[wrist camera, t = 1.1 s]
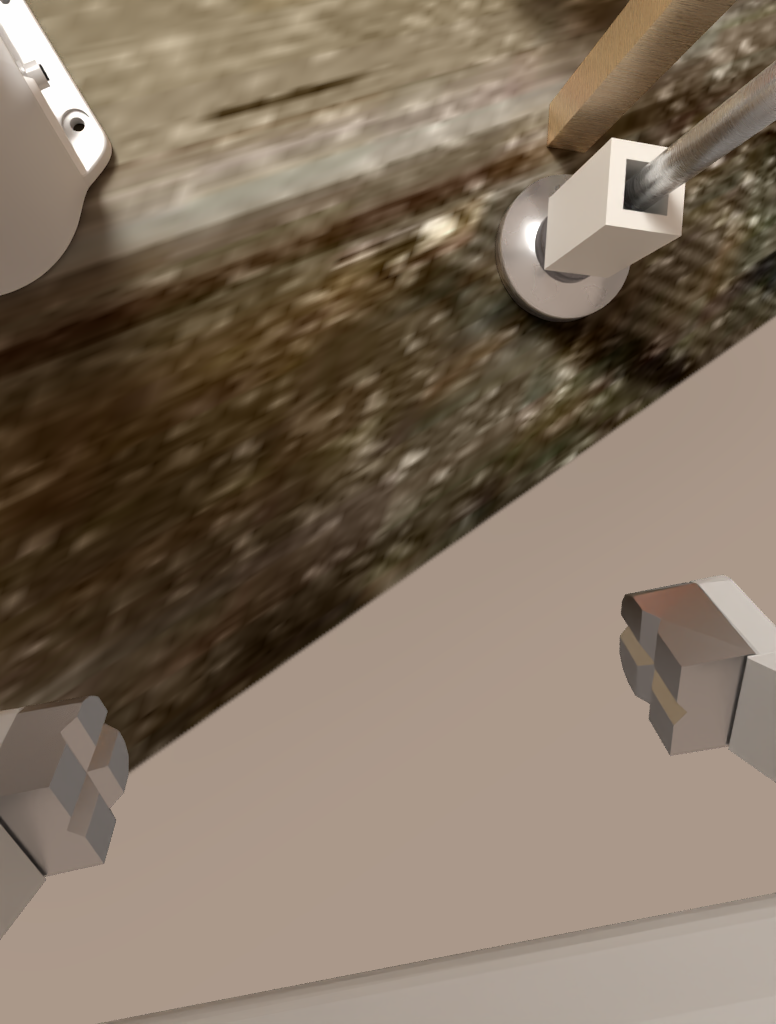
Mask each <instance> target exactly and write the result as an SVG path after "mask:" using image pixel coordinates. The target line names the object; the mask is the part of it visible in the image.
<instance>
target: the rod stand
mask: <svg viewBox="0 0 776 1024" xmlns="http://www.w3.org/2000/svg"><path fill="white" fill-rule="evenodd" d="M736 1H737V0H630V1H629V2H628V4H627V5H626V6H625V8H624V9H623V10H622V12H621V13H620V14H619V15H618V17H617V18H616V19H615V21H614V22H613V23H612V24H611V26H610V27H609V28H608V30H607V31H606V32H605V33H604V35H603V36H602V37H601V39H600V40H599V41H598V43H597V44H596V45H595V46H594V48H593V49H592V50H591V52H590V53H589V54H588V55H587V57H586V58H585V59H584V61H583V62H582V63H581V65H580V66H579V67H578V68H577V70H576V71H575V72H574V74H573V75H572V76H571V77H570V79H569V80H568V81H567V83H566V84H565V85H564V87H563V88H562V89H561V90H560V92H559V93H558V94H557V96H556V97H555V98H554V99H553V101H552V102H551V103H550V108H549V123H548V138H547V147H553V148H559V149H564V150H570V151H576V152H582V153H585V152H586V151H587V150H588V149H589V148H590V147H591V146H592V145H593V144H594V143H595V142H596V141H597V140H598V139H599V138H600V137H601V136H602V135H603V134H604V133H605V132H606V131H607V130H608V129H609V128H610V127H611V126H612V125H613V124H614V123H615V122H616V121H617V120H618V119H619V118H620V117H621V116H622V115H623V114H624V113H625V112H626V111H627V110H628V109H629V108H630V107H631V106H632V105H633V104H634V103H635V102H636V101H637V100H638V99H639V98H640V97H641V96H642V95H643V94H644V93H645V92H646V91H647V90H648V89H649V88H650V87H651V86H652V85H653V84H654V83H655V82H656V81H657V80H658V79H659V78H660V77H661V76H662V75H663V74H664V73H665V72H666V71H667V70H668V69H669V68H670V67H671V66H672V65H673V64H674V63H675V62H676V61H677V60H678V59H679V58H680V57H681V56H682V55H683V54H684V53H685V52H686V51H687V50H688V49H689V48H690V47H691V46H692V45H693V44H694V43H695V42H696V41H697V40H698V39H699V38H700V37H701V36H702V35H703V34H704V33H705V32H706V31H707V30H708V29H709V28H710V27H711V26H712V25H713V24H714V23H715V22H716V21H717V20H718V19H719V18H720V17H721V16H722V15H723V14H724V13H725V12H726V11H727V10H728V9H729V8H730V7H731V6H732V5H733V4H734V3H735V2H736ZM775 120H776V61H775V62H773V63H772V64H771V65H770V66H768V67H767V68H766V69H765V70H763V71H762V72H761V73H760V74H758V75H757V76H756V77H755V78H754V79H752V80H751V81H750V82H749V83H747V84H746V85H745V86H744V87H742V88H741V89H740V90H739V91H737V92H736V93H735V94H734V95H733V96H731V97H730V98H729V99H728V100H726V101H725V102H724V103H723V104H721V105H720V106H719V107H718V108H716V109H715V110H714V111H713V112H712V113H710V114H709V115H708V116H707V117H705V118H704V119H703V120H702V121H700V122H699V123H698V124H697V125H695V126H694V127H693V128H692V129H691V130H689V131H688V132H687V133H686V134H684V135H683V136H682V137H681V138H679V139H678V140H677V141H676V142H674V143H673V144H672V145H671V146H669V147H668V148H667V149H666V150H665V151H663V152H662V153H661V154H660V155H658V156H657V157H656V158H655V159H653V160H652V161H651V162H650V163H648V164H647V165H646V166H645V167H644V168H642V169H641V170H640V171H639V172H637V173H636V174H635V175H634V176H632V177H631V178H630V179H629V180H627V181H626V182H625V187H624V201H623V209H625V210H632V211H638V212H644V211H645V210H647V209H648V208H649V207H651V206H652V205H654V204H655V203H657V202H658V201H659V200H661V199H662V198H664V197H665V196H667V195H668V194H670V193H671V192H672V191H674V190H675V189H677V188H678V187H680V186H681V185H683V184H684V183H685V182H687V181H688V180H690V179H691V178H693V177H694V176H696V175H697V174H698V173H700V172H701V171H703V170H704V169H706V168H707V167H709V166H710V165H711V164H713V163H714V162H716V161H717V160H719V159H720V158H722V157H723V156H724V155H726V154H727V153H729V152H730V151H732V150H733V149H734V148H736V147H737V146H739V145H740V144H742V143H743V142H745V141H746V140H747V139H749V138H750V137H752V136H753V135H755V134H756V133H758V132H759V131H760V130H762V129H763V128H765V127H766V126H768V125H769V124H771V123H772V122H773V121H775ZM572 176H573V175H567V174H562V175H553V176H548V177H545V178H543V179H540V180H538V181H536V182H534V183H533V184H531V185H530V186H529V187H527V188H526V189H525V190H524V191H523V192H522V193H521V194H520V195H519V196H518V197H517V198H516V199H515V200H514V201H513V203H512V204H511V205H510V206H509V208H508V209H507V210H506V212H505V214H504V215H503V217H502V219H501V222H500V224H499V227H498V230H497V234H496V241H495V259H496V265H497V269H498V273H499V276H500V278H501V281H502V283H503V285H504V287H505V289H506V290H507V292H508V293H509V295H510V296H511V297H512V298H513V300H514V301H515V302H516V303H517V304H518V305H519V306H520V307H522V308H523V309H524V310H525V311H527V312H528V313H530V314H532V315H534V316H536V317H538V318H541V319H544V320H547V321H552V322H570V321H574V320H578V319H581V318H583V317H586V316H588V315H590V314H592V313H594V312H596V311H598V310H599V309H601V308H603V307H604V306H605V305H607V304H608V303H609V302H610V301H611V300H612V299H613V298H614V297H615V296H616V295H617V293H618V292H619V291H620V289H621V288H622V286H623V284H624V282H625V280H626V277H627V275H628V272H629V268H630V265H629V266H628V267H626V268H624V269H623V270H621V271H619V272H617V273H616V274H614V275H612V276H610V277H609V278H604V277H597V276H589V275H581V274H574V273H566V272H558V271H551V270H544V264H545V249H546V234H547V219H548V204H549V198H550V197H551V196H552V195H553V194H554V193H555V192H556V191H557V190H558V189H559V188H560V187H561V186H562V185H563V184H564V183H565V182H566V181H567V180H568V179H570V178H571V177H572Z"/></svg>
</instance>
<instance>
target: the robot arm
mask: <svg viewBox="0 0 776 1024" xmlns="http://www.w3.org/2000/svg"><path fill="white" fill-rule="evenodd" d="M79 123H81V124H84V125H85V127H84V129H83V130H82V131H80V132H77V131H74V130H73V128H74V126H75V125H76V124H79ZM111 154H112V147H111V143H110V141H109V138H108V137H107V135H106V133H105V132H104V130H103V128H102V127H101V125H100V123H99V122H98V120H97V118H96V117H95V115H94V113H93V112H92V110H91V109H90V107H89V105H88V104H87V102H86V100H85V99H84V97H83V95H82V94H81V92H80V90H79V89H78V87H77V85H76V84H75V82H74V80H73V79H72V77H71V75H70V74H69V72H68V70H67V69H66V67H65V66H64V64H63V62H62V61H61V59H60V57H59V56H58V54H57V52H56V51H55V49H54V47H53V46H52V44H51V42H50V41H49V39H48V37H47V36H46V34H45V32H44V31H43V29H42V27H41V26H40V24H39V23H38V21H37V19H36V18H35V16H34V14H33V13H32V11H31V9H30V8H29V6H28V4H27V3H26V1H25V0H0V295H4V294H7V293H10V292H13V291H15V290H18V289H20V288H22V287H24V286H26V285H28V284H30V283H31V282H33V281H35V280H36V279H38V278H39V277H40V276H42V275H43V274H44V273H45V272H47V271H48V270H49V269H50V268H51V267H52V266H53V265H54V264H55V263H56V262H57V261H58V260H59V258H60V257H61V256H62V254H63V253H64V252H65V250H66V249H67V247H68V245H69V244H70V242H71V240H72V238H73V236H74V234H75V231H76V229H77V226H78V222H79V219H80V215H81V210H82V206H83V202H84V198H85V195H86V193H87V190H88V188H89V187H90V186H91V184H92V183H93V182H94V181H95V180H96V178H97V177H98V176H99V175H100V174H101V172H102V171H103V170H104V168H105V167H106V165H107V164H108V162H109V160H110V157H111ZM621 615H622V617H623V618H624V620H625V622H626V623H627V625H628V627H627V628H626V629H625V630H624V632H623V633H622V634H621V635H620V657H621V662H622V666H623V670H624V673H625V675H626V678H627V680H628V683H629V685H630V686H631V688H632V690H633V692H634V694H635V695H636V696H637V697H639V698H641V699H642V700H644V701H646V702H648V703H649V704H650V712H649V720H650V722H651V724H652V725H653V727H654V729H655V730H656V732H657V734H658V736H659V737H660V739H661V741H662V743H663V744H664V746H665V748H666V749H667V751H668V753H669V755H670V756H672V755H678V754H684V753H690V752H697V751H703V750H709V749H715V748H721V747H727V746H729V748H728V749H729V750H730V751H731V752H733V753H734V754H736V755H737V756H738V757H740V758H741V759H743V760H744V761H746V762H747V763H748V764H750V765H751V766H753V767H754V768H756V769H757V770H758V771H760V772H761V773H763V774H764V775H765V776H767V777H768V778H770V779H771V780H773V781H774V782H776V626H775V625H774V624H773V623H772V622H771V621H770V620H769V618H768V617H767V616H766V615H765V614H764V613H763V612H762V611H761V610H760V609H759V608H758V607H757V606H756V605H755V604H754V603H753V602H752V600H751V599H750V598H749V597H748V596H747V595H746V594H745V593H744V592H743V591H742V590H741V589H740V588H739V587H738V586H737V584H736V583H735V582H734V581H733V580H732V579H731V578H729V577H727V576H725V575H719V576H714V577H709V578H704V579H699V580H694V581H690V582H689V583H681V584H676V585H671V586H666V587H660V588H655V589H651V590H645V591H640V592H635V593H630V594H626V595H625V596H624V598H623V601H622V609H621ZM107 712H108V711H107V709H106V708H105V706H104V705H103V703H102V702H101V700H100V699H99V697H96V696H84V697H78V698H72V699H66V700H60V701H54V702H48V703H42V704H36V705H29V706H26V707H22V708H16V709H10V710H3V711H0V940H1V938H2V937H3V935H4V934H5V933H6V932H7V930H8V929H9V928H10V926H11V925H12V924H13V922H14V921H15V920H16V919H17V917H18V916H19V915H20V913H21V912H22V911H23V909H24V908H25V907H26V906H27V904H28V903H29V902H30V900H31V899H32V898H33V896H34V895H35V894H36V892H37V891H38V890H39V888H40V887H41V886H42V885H43V883H44V882H45V881H46V879H45V877H46V876H50V875H55V874H59V873H64V872H69V871H73V870H78V869H82V868H87V867H92V866H96V865H100V864H104V862H105V858H106V855H107V851H108V848H109V844H110V841H111V837H112V834H113V830H114V826H115V823H116V819H115V817H114V815H113V813H112V811H111V810H110V808H111V807H112V805H113V804H114V803H115V802H116V801H117V800H118V799H119V797H120V796H121V795H122V794H123V793H124V790H125V786H126V782H127V779H128V752H127V748H126V744H125V741H124V739H123V737H122V736H121V734H120V732H119V731H118V730H116V729H114V728H113V727H111V726H109V725H107V724H105V723H104V721H105V718H106V715H107ZM99 1024H776V893H772V894H767V895H762V896H757V897H752V898H746V899H741V900H737V901H731V902H726V903H721V904H716V905H711V906H705V907H700V908H695V909H690V910H685V911H680V912H674V913H669V914H664V915H658V916H653V917H648V918H643V919H638V920H633V921H627V922H622V923H617V924H612V925H606V926H601V927H596V928H591V929H586V930H580V931H575V932H570V933H565V934H559V935H554V936H549V937H544V938H539V939H534V940H528V941H523V942H518V943H513V944H507V945H502V946H497V947H492V948H487V949H481V950H476V951H471V952H466V953H461V954H456V955H450V956H445V957H440V958H435V959H429V960H424V961H419V962H414V963H409V964H404V965H398V966H394V967H388V968H383V969H378V970H373V971H368V972H363V973H357V974H352V975H347V976H342V977H336V978H331V979H326V980H321V981H316V982H311V983H305V984H300V985H296V986H290V987H285V988H280V989H274V990H270V991H264V992H259V993H254V994H249V995H244V996H239V997H234V998H228V999H223V1000H218V1001H213V1002H207V1003H202V1004H197V1005H192V1006H187V1007H182V1008H177V1009H171V1010H166V1011H161V1012H156V1013H150V1014H145V1015H140V1016H135V1017H130V1018H125V1019H120V1020H114V1021H109V1022H104V1023H99Z"/></svg>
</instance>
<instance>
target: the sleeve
mask: <svg viewBox="0 0 776 1024" xmlns="http://www.w3.org/2000/svg"><path fill="white" fill-rule="evenodd" d="M666 149H667V147H662V146H656V145H650V144H645V143H639V142H633V141H628V140H622V139H617V138H611V139H610V140H609V141H608V142H607V143H606V144H605V145H604V146H603V147H602V148H601V149H599V150H598V151H597V152H596V153H595V154H594V155H593V156H592V157H591V158H590V159H589V160H588V161H587V162H586V163H585V164H584V165H583V166H582V167H581V168H580V169H579V170H578V171H577V172H576V173H575V174H574V175H573V176H572V177H571V178H570V179H568V180H567V181H566V182H565V183H564V184H563V185H562V186H561V187H560V188H559V189H558V190H557V191H556V192H555V193H554V194H553V195H552V196H551V197H550V198H549V204H548V219H547V234H546V249H545V264H544V270H551V271H558V272H566V273H574V274H581V275H589V276H597V277H604V278H609V277H610V276H612V275H614V274H616V273H617V272H619V271H621V270H623V269H624V268H626V267H628V266H629V265H631V264H633V263H635V262H636V261H638V260H640V259H642V258H643V257H645V256H647V255H649V254H650V253H652V252H654V251H656V250H657V249H659V248H661V247H663V246H664V245H666V244H668V243H670V242H671V241H673V240H675V239H677V238H678V237H680V236H681V232H682V219H683V206H684V192H685V183H684V184H683V185H681V186H680V187H678V188H677V189H675V190H674V191H672V192H671V193H670V194H668V195H667V196H665V197H664V198H662V199H661V200H659V201H658V202H657V203H655V204H654V205H652V206H651V207H649V208H648V209H647V210H645V211H644V212H638V211H632V210H625V209H623V201H624V187H625V182H626V181H627V180H629V179H630V178H631V177H632V176H634V175H635V174H636V173H637V172H639V171H640V170H641V169H642V168H644V167H645V166H646V165H647V164H648V163H650V162H651V161H652V160H653V159H655V158H656V157H657V156H658V155H660V154H661V153H662V152H663V151H665V150H666Z"/></svg>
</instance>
